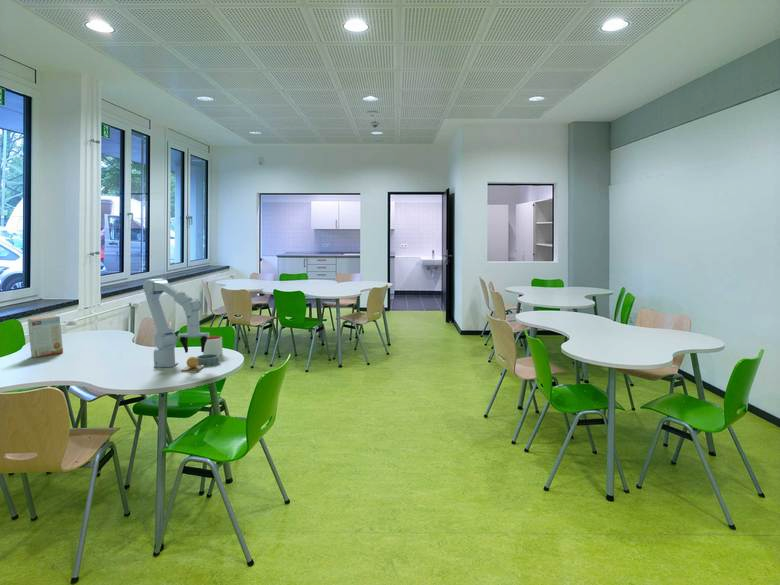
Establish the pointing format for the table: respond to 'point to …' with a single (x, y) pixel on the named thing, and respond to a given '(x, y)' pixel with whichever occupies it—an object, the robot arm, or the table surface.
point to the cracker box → (45, 336)
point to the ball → (192, 362)
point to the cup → (213, 345)
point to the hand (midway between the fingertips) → (194, 352)
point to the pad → (192, 368)
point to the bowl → (208, 359)
